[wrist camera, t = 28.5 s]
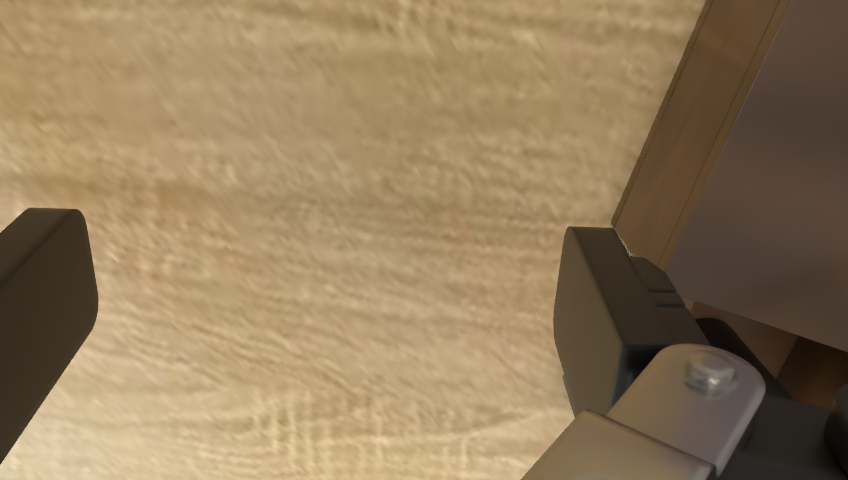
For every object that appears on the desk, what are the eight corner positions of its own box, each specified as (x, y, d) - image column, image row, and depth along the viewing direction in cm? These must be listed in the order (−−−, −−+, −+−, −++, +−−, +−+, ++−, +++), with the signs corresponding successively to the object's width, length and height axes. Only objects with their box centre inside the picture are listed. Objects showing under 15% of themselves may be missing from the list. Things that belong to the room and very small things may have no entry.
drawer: (718, 518, 42) (769, 616, 35) (526, 458, 41) (541, 547, 34) (875, 231, 36) (969, 283, 30) (659, 156, 36) (707, 192, 29)
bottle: (666, 379, 38) (740, 508, 28) (671, 315, 37) (749, 428, 27) (736, 378, 38) (834, 508, 28) (743, 314, 37) (847, 427, 27)
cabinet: (837, 300, 39) (945, 385, 30) (609, 223, 38) (656, 288, 29) (978, 42, 35) (1149, 56, 26) (728, -51, 34) (821, -66, 25)
